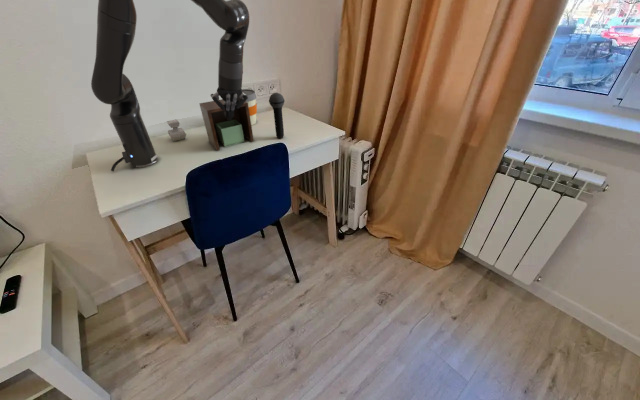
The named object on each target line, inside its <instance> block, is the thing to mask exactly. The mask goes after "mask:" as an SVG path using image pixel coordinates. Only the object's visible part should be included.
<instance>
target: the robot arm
mask: <svg viewBox="0 0 640 400" xmlns="http://www.w3.org/2000/svg"><path fill="white" fill-rule="evenodd" d="M190 1H191V2H192V3H193V4H195V5H196V6H198V7H199V8H200V9H201V10H203V12H204V13H205V14H206V15H207V16H208V17H209V19H210V20H211V21H212V22H213V23H214V24H215V25H216V26H217V27H218V28H220V29H221V30H223V31H224V33H223V35H222V36H221V37H220V39H219V48H218V49H219V51H218V55H219V56H218V57H219V58H218V67H217V68H218V69H217V70H218V71H217V73H218V74H217V75H218V77H217V79H218V80H217V84H218V86H217V89H216V92H215V93H211V94H210V97H211V99H212V101H214V102H215V103H216V104H217V105H218V106H219V107H220V108H221V109H222V110H225V117H226V118H227V119H228V120H231V119H232V118H233V117H234V110H235V109H239V108H240V107H241V106H242V104H243V103H244V102H245V101H246V100H247V99H248V96H247V95H246V94H245V93H243V91H242V88H243V74H244V64H243V62H244V61H243V60H244V47H245V46H244V45H245V42H246V39H247V34H248V31H249V27H250V12H249V9H248V7H247V5H246V4H245V2H243V1H242V0H190ZM96 17H97V19H96V42H95V43H96V46H95V60H94V65H93V71H92V76H91V79H90V81H91V82H90V84H91V85H90V86H91V90H92V94H93V95H94V96H95V98H96V99H97V100H99V101H100V102H101V103H103V104H105V105H110V107H111V108H110V113H109V118H110V120H111V122H112V124H113V127H114V129H115V131H116V133H117V135H118V138H119V140H120V142H121V144H122V148H123V149H124V151H121V155H122V156H121V157H120V158H119V159H117V160H116V161H115V162H114V163H113V164H112V166H111V169H110V171H111V172H114V171H115V170H116V167H117V166H118V165H119V164H120V163H121V162H122V161H124V163H125V164H130V165H131V167H132V169H136V168H147V167H150V166H152V165H155V164H156V163H157V162H158V161H159V157H158V155H157V153H156V151H155V147H154V145H153V143H152V141H151V138H150V134H149V132H148V130H147V127H146V125H145V122H144V119H143V117H142V115H141V107H140V106H141V105H140V103H139V99H138V97H137V94H136V91H135V88H134V86H133V84H132V82H131V80H130V79H129V78H128V76H127V75H126V74H124V66H125V63H126V60H127V58H128V55H129V53H130V52H131V49H132V46H133V44H134V41H135V37H136V29H137V22H138V21H137V19H138V15H137V9H136V6H135V2H134V0H98V2H97V16H96ZM220 99H223V101H224V104H222V103H221V102H220V101H219V100H220Z"/></svg>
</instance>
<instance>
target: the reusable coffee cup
mask: <svg viewBox="0 0 640 400" xmlns="http://www.w3.org/2000/svg"><path fill="white" fill-rule="evenodd" d="M241 89H242V88H241ZM242 91H243V93H245V94H246V95H247V96H248V99H247V100H246V102H247V103H248V108H249V114H250V120H251V126H253V125H256V123H257V113H258V103H257V94H256V90H254V89H250V88H249V89H248V88H243V89H242Z"/></svg>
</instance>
